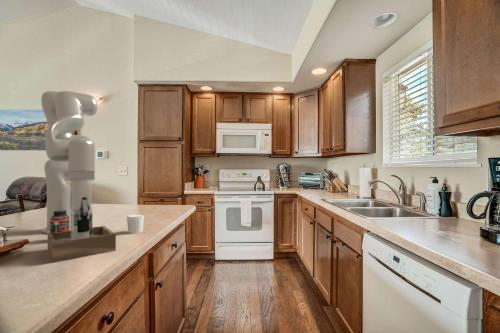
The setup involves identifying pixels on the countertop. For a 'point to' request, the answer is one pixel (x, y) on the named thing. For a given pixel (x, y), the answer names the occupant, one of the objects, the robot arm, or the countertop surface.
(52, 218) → the supplement bottle
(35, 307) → the countertop surface
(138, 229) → the white cup
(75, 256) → the crate
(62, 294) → the countertop surface
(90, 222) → the syrup box
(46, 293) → the countertop surface
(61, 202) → the robot arm
